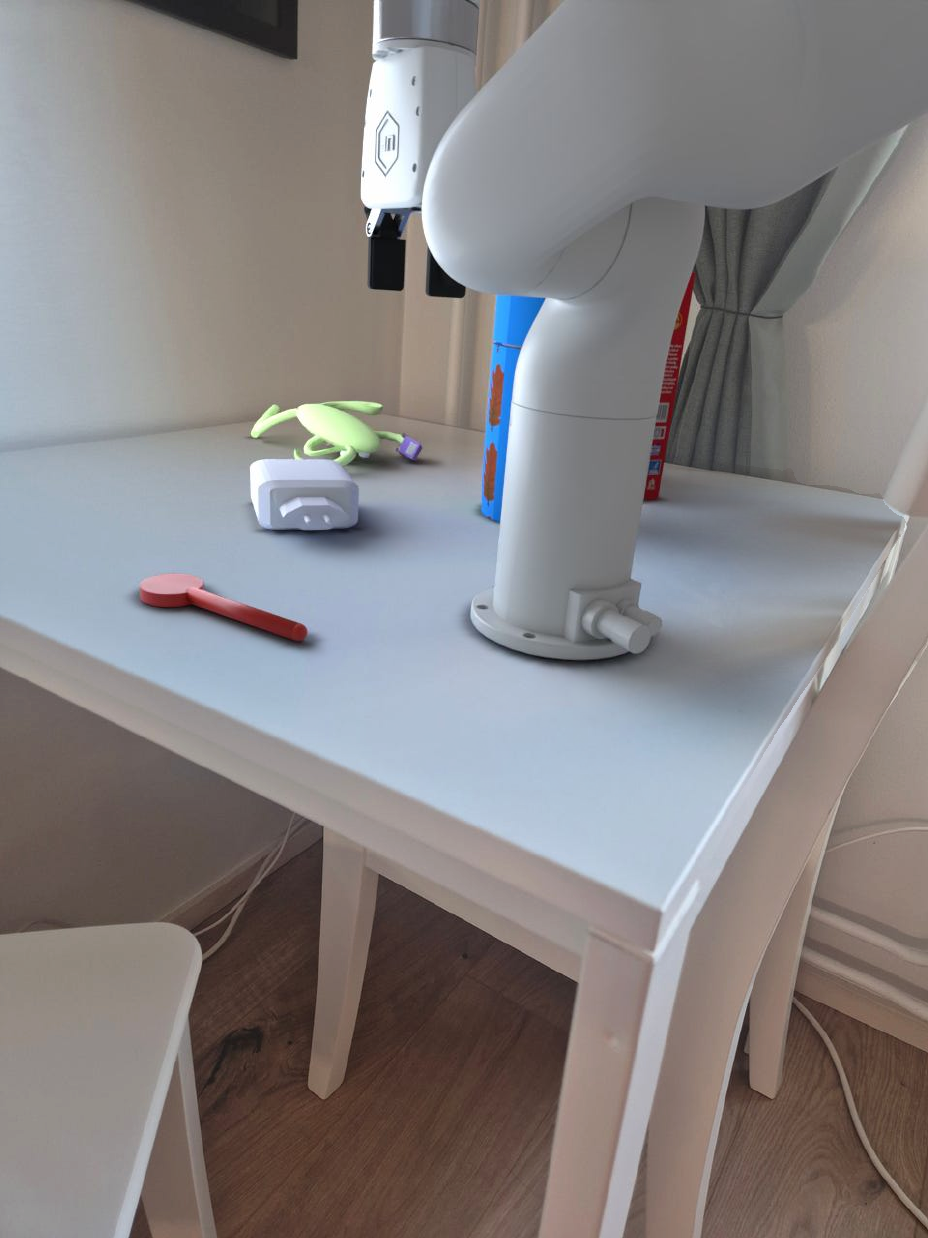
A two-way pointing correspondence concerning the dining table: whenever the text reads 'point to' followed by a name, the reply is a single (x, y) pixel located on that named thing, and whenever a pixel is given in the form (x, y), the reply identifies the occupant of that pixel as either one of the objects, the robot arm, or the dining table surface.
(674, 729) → the dining table surface
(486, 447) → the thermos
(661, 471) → the food packaging
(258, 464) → the charger
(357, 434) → the figurine
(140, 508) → the dining table surface
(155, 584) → the red flat paddle
